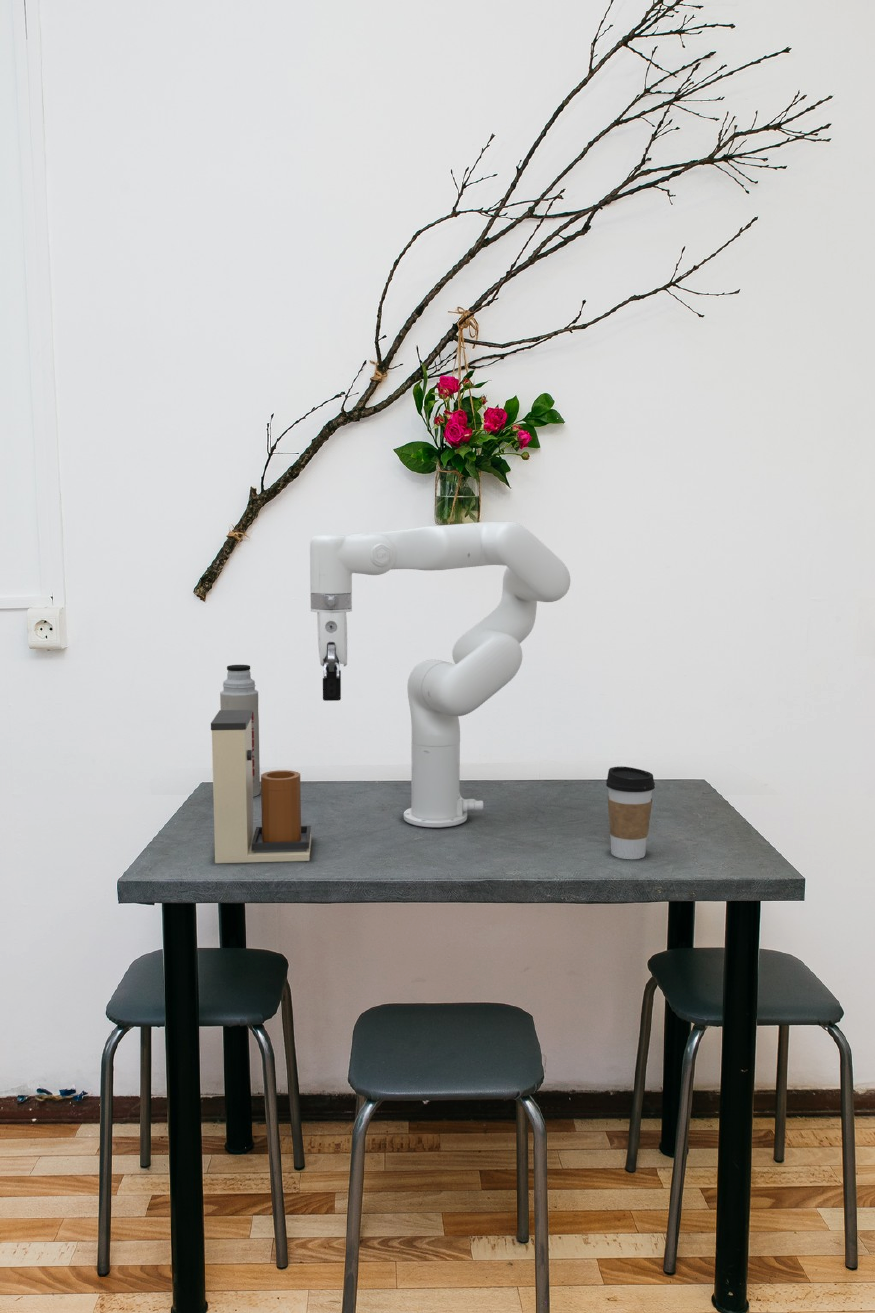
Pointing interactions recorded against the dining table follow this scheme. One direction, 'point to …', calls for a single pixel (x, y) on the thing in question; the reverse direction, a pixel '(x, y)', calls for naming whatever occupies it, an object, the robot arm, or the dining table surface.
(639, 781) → the coffee cup
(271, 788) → the brown hollow cylinder
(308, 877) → the dining table surface
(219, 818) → the coffee maker
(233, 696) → the thermos bottle
